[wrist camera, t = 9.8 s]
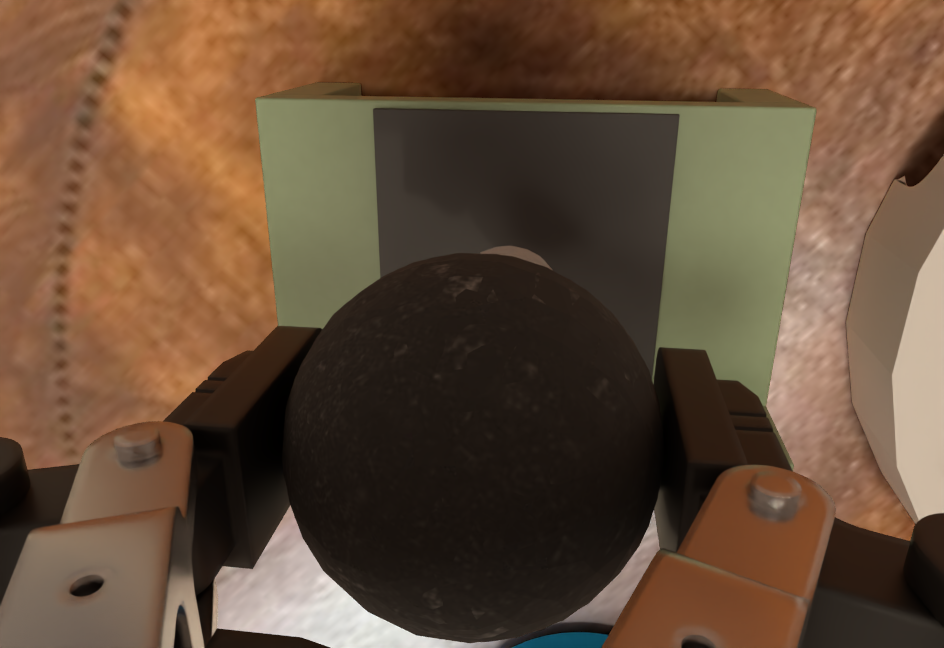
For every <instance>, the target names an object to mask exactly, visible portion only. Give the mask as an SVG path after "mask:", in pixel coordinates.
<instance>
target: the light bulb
mask: <svg viewBox="0 0 944 648" xmlns="http://www.w3.org/2000/svg"><path fill="white" fill-rule="evenodd" d="M664 457H665V455H664V437H663V429H662V421H661V413H660V403H659V399H658V396H657V393H656V390H655V387H654V384H653V381H652V378H651V375H650V372H649V369H648V367H647V366H646V363H645V361H644V360H643V358H642V356H641V354H640V353H639V351H638V349H637V347H636V345H635V343H634V341H633V340H632V339H631V337H630V336H629V335H628V333H627V332H626V330H625V329H624V327H623V326H622V325H621V324H620V322H619V321H618V320H617V318H616V317H615V316H614V314H613V313H612V312H611V311H610V310H608V309H607V308H606V307H605V306H604V305H603V304H602V303H601V302H600V301H599V300H598V299H596V298H595V297H594V296H593V295H592V294H591V293H590V292H588V291H587V290H586V289H584V288H582V287H581V286H579V285H577V284H576V283H574V282H573V281H572V280H570V279H568V278H566V277H564V276H562V275H560V274H558V273H556V272H554V271H553V270H552V269H551V268H550V266H549V265H548V264H547V263H546V262H545V260H543V259H542V258H541V257H540V256H539V255H537V254H535V253H533V252H531V251H529V250H528V249H523V248H519V247H515V246H500V247H494V248H492V249H488V250H486V251H483V252H481V253H455V254H450V255H445V256H440V257H432V258H429V259H426V260H421V261H417V262H413V263H411V264H409V265H407V266H404V267H402V268H399V269H397V270H395V271H393V272H391V273H389V274H387V275H384V276H383V277H381V278H380V279H378V280H377V281H375V282H374V283H372V284H371V285H369V286H368V287H367V288H365V289H364V290H362V291H361V292H359V293H358V294H357V295H356V296H355V297H353V298H352V299H351V300H350V301H348V302H347V303H346V304H344V305H343V306H342V307H341V308H340V309H339V310H338V311H337V312H335V313H334V314H333V315H332V317H331V318H330V320H329V321H328V322H327V324H326V325H325V327H324V328H323V329H322V331H321V332H320V334H319V335H318V337H317V338H316V340H315V341H314V343H313V345H312V347H311V349H310V350H309V352H308V354H307V355H306V357H305V359H304V360H303V362H302V364H301V366H300V368H299V371H298V373H297V375H296V377H295V379H294V382H293V385H292V389H291V392H290V395H289V398H288V401H287V404H286V409H285V422H284V431H283V449H282V463H283V475H284V479H285V482H286V486H287V492H288V497H289V502H290V505H291V508H292V510H293V513H294V516H295V519H296V521H297V524H298V526H299V529H300V532H301V534H302V537H303V539H304V541H305V542H306V544H307V545H308V547H309V549H310V550H311V552H312V553H313V555H314V557H315V558H316V560H317V561H318V563H319V564H320V566H321V568H322V569H323V571H324V572H325V573H326V574H327V575H328V576H329V577H331V578H332V579H333V580H334V581H335V582H336V583H337V584H338V585H339V586H340V587H341V588H343V589H344V590H345V591H346V592H347V593H348V594H349V595H350V596H351V597H352V598H353V599H355V600H356V601H357V602H358V603H359V604H360V605H361V606H362V607H363V608H364V609H365V610H367V611H368V612H370V613H372V614H374V615H376V616H378V617H380V618H382V619H384V620H386V621H388V622H390V623H392V624H394V625H396V626H399V627H401V628H403V629H405V630H407V631H409V632H411V633H413V634H415V635H418V636H425V637H432V638H438V639H445V640H452V641H458V642H466V643H475V642H489V641H496V640H503V639H510V638H517V637H520V636H523V635H526V634H528V633H532V632H535V631H539V630H542V629H545V628H546V627H548V626H550V625H552V624H555V623H557V622H560V621H563V620H564V619H566V618H567V617H569V616H570V615H571V614H573V613H574V612H576V611H577V610H578V609H580V608H582V607H583V606H585V605H587V604H589V603H590V602H591V601H592V600H593V599H594V598H595V597H596V596H597V595H598V594H599V593H600V592H601V591H602V590H603V589H604V588H605V587H606V586H607V585H608V584H609V583H610V582H611V581H612V580H613V579H614V578H615V577H616V576H617V575H618V574H619V573H620V572H621V570H622V569H623V568H624V566H625V565H626V564H627V562H628V561H629V559H630V558H631V557H632V555H633V554H634V552H635V551H636V550H637V548H638V547H639V545H640V543H641V541H642V539H643V537H644V534H645V532H646V530H647V528H648V526H649V523H650V520H651V516H652V513H653V510H654V507H655V505H656V502H657V499H658V493H659V489H660V484H661V477H662V470H663V464H664Z"/></svg>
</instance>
